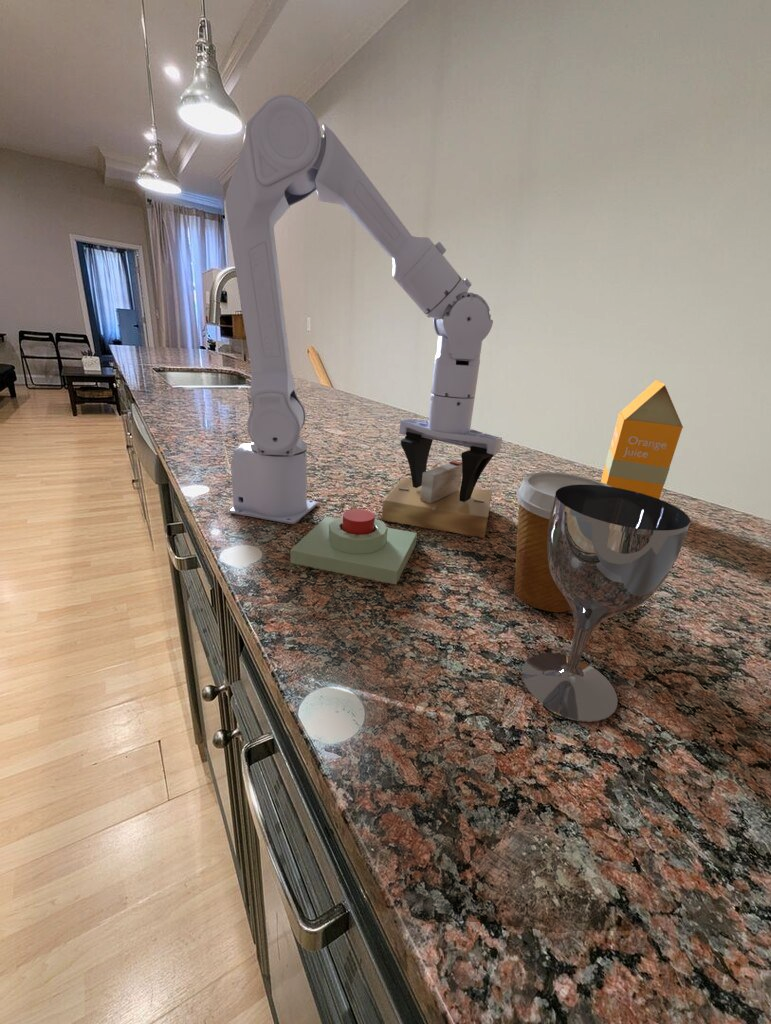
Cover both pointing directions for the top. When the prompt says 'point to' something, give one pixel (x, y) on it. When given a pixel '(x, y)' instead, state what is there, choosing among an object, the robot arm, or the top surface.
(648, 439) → the orange juice
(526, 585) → the disposable coffee cup
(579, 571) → the wine glass
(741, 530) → the top surface
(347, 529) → the button
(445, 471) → the grey rectangular block
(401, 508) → the wooden base
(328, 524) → the button block
